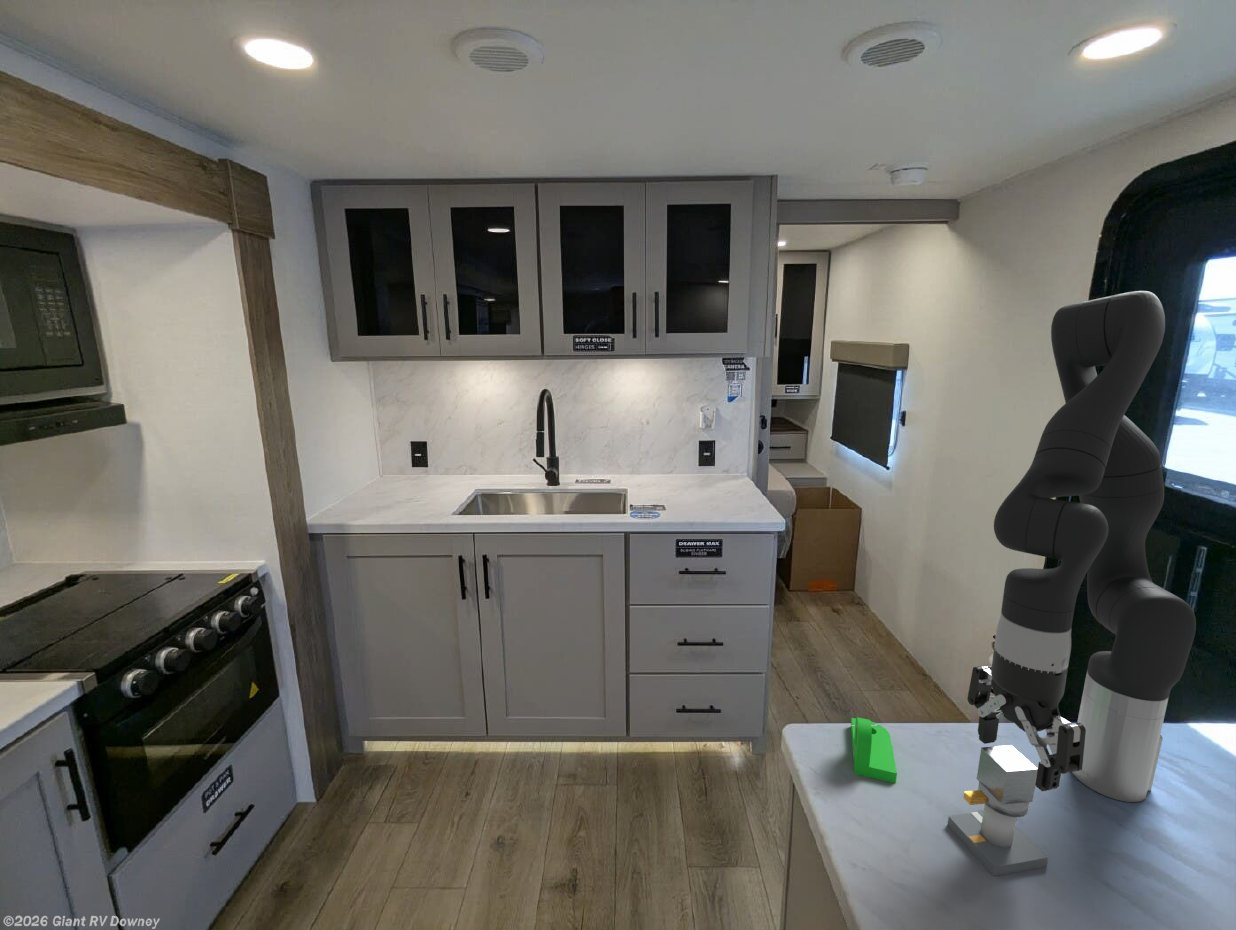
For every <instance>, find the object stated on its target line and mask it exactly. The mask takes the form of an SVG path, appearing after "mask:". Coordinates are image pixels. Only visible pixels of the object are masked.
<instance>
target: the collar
mask: <svg viewBox="0 0 1236 930" xmlns="http://www.w3.org/2000/svg"><path fill="white" fill-rule="evenodd" d="M1037 771H1038V766H1036V765H1034V763H1032V762H1031V761H1030V760H1029V759H1028V758H1026V757H1025V756H1024V755H1023V754H1022V753H1021V752H1020V751H1018V750H1017V749H1016V748H1015V747H1014V746H1013V745H1012V744H1009V745H997V746H983V747H982V746H981V749H980V755H979V761H978V768H977V774H976V780H977V781H978V785H977V789H976V790H966V791H964V792H963V797H962V798H963V799H964V800H965V801H966V802H967V804H968V805H969V806H972V805H975V806H976V805H985V804H986V805H987V806H988V807H989V808H991V809H992V810H994V811H996V812H998V813H1000V814H1003V815H1006V816H1009V817H1017V818H1022V817H1025V816H1026V815H1027V814H1028V812H1029V811H1028V810H1029V808H1030V807H1029V806H1030V803H1033V802H1034V797H1035V789H1036V785H1035V784H1036V777H1037Z"/></svg>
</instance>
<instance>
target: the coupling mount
mask: <svg viewBox="0 0 1236 930" xmlns="http://www.w3.org/2000/svg"><path fill="white" fill-rule="evenodd" d="M983 805H984V807H983V810H979V811H973V812H972V811H971V812H966V813H960V814H955V815H949V816H948V819H947V826H948V827H949V828H950V829H951V831H952V832H953V833H954V834H955V835H956V836H957V837H958V838H959V839H960V840H961V842H962V843H963V844H964V845H965V846H966V847H967V848H968V849H969V851H971V853H972V854H973V855H974V856H975V857H976V858H977V859H978V861H979V862H980V863H981V864H982V865H983V866H984V867H985V869H987V870H988V872H989V873H990V874H991V875H992V876H993V877H996V876H1001V875H1007V874H1012V873H1017V872H1024V871H1027V870H1033V869H1039V868H1043V867H1047V864H1048V861H1049V860H1048V859H1049V856H1047V855H1046V854H1045V853H1044V852H1043V851H1042V850H1041V848H1039V847H1038V846H1037V845H1036V844H1035V843H1034V842H1033V841H1032V840H1031V839H1030V838H1029V837H1027V835H1026V834H1024V832H1023V831H1021V830H1020V828H1019V827H1017V826H1016V824H1017V818H1018V817H1009V816H1006V815H1003V814H1000V813H998V812H996V811H994V810H992V809H991V808H989V807H988V806H987V805H986V804H983Z"/></svg>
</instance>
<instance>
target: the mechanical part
mask: <svg viewBox="0 0 1236 930" xmlns="http://www.w3.org/2000/svg"><path fill="white" fill-rule="evenodd" d="M875 724H878V723H877V722H874V721H871V719H867V718H862V717H858V716H857V717H856V718H854V717H851V723H850V732H851V734H850V735H851V745H852V757H853V758H852V759H853V766H854V767H853V769H854V774H856V775H858V776H864V777H868V778H873V779H877V780H880V781H885V782H890V783H894V784H896V783H897V776H898V772H897V767H896V760H895V756H894V755H895V754H894V750H893V744H892V739H891V733H890V732H889V731H888V730H887V729H886V728H885V727H884V726H882V725H881V724H879V725H877V726H871V725H875ZM851 725H855V726H851Z"/></svg>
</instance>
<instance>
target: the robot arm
mask: <svg viewBox="0 0 1236 930" xmlns="http://www.w3.org/2000/svg"><path fill="white" fill-rule="evenodd" d="M1164 310H1165V309H1164V307H1163V304H1162V302H1161V301H1160V299H1159V298H1158V296H1157V295H1156V294H1155V293H1153V292H1151V291H1147V290H1138V291H1137V290H1135V291H1128V292H1124V293H1118V294H1114V295H1109V296H1105V297H1099V298H1096V299H1090V300H1086V301H1080V302H1075V303H1071V304H1067V305H1064V306H1062V307H1060V308H1058V310H1057V311H1056V312H1055V313H1054V315H1053V318H1052V321H1051V325H1050V327H1051V328H1050V334H1051V335H1050V338H1051V339H1050V340H1051V345H1052V352H1053V357H1054V361H1055V367H1056V369H1057V373H1058V378H1059V381H1060V385H1061V389H1062V393H1063V398H1064V402H1065V404H1064V405H1062V406H1061V407H1060V408H1059V409H1058V410H1057V411H1056V412H1055V413H1054V414H1053V415H1052V417H1051V418H1050V419H1049V421H1048V422H1047V424H1046V425H1045V427H1044V428H1043V432H1042V433H1041V437H1040V439H1039V442H1038V444H1037V448H1036V451H1035V454H1034V457H1033V460H1032V463H1031V465H1030V467H1029V468H1028V470H1027V471H1026V473H1025V474H1024V475H1023V477H1022V479H1020V481H1019V482H1018V484H1016V486H1015V487H1014V488H1013V489H1012V490H1011V491H1010V492H1009V494H1008V495H1007V496H1006V498H1005V499H1004V500H1003V502H1002V503H1001V505H1000V506H998V507H999V508H998V509H997V511H996V513H995V515H994V519H993V532H994V535H995V538H996V539H997V541H998V543H1000V544H1001V545H1002V546H1003V547H1005V548H1007V549H1009V550H1012V551H1015V552H1020V553H1025V554H1030V555H1034V556H1039V557H1043V558H1044V557H1046V558H1050V559H1054V560H1057V561H1060V564H1059V566H1057V567H1053V568H1035V567H1034V568H1033V567H1032V568H1031V567H1029V568H1027V567H1025V568H1018V569H1013V570H1011V571H1010V572H1008V573H1007V575H1006V577H1005V581H1004V588H1003V596H1002V605H1001V611H1000V615H999V619H998V622H997V626H996V631H995V638H994V647H993V654H992V661H991V664H985V665H979V666H974V667H973V668H972V671H971V677H970V681H969V682H970V683H969V687H968V692H967V693H968V694H967V702H968V703H969V705H971V706H974V707H975V709H977V711H976V712H977V715H978V726H977V733H978V735H979V736H978V740H979V741H980V742H981V743H983V744H985V745H987V744H991V743H995V742H996V741H997V739H998V738H997V737H998V732H999V723H1000V718H999V717H998V716H999V715H1000V714H1003V717H1004V718H1005V719H1006V720H1008V721H1009V722H1012V723H1014V724H1015V725H1016V726H1017V728H1019V729H1020V730H1022V731H1023V732H1025V734H1026V736H1027V739H1028V742H1029V744H1031V745H1032V746H1033V747H1035V750H1036V752H1037V755H1038V757H1039V760H1040V761H1039V762H1038V766H1037V768H1038V771H1037V777H1036V784H1035V788H1037V789H1039V791H1041V792H1047V791H1052V790H1056V789H1058V787H1060V781H1061V775H1065V774H1068V773H1072V774H1073V776H1074V777H1075V778H1076V779H1077V780H1078V781H1080V783H1082V784H1083V785H1085V786H1086V787H1088V788H1089V789H1091V790H1093V791H1094V792H1096V793H1099V794H1101V795H1103V796H1105V797H1108V798H1110V799H1113V800H1117V801H1119V802H1125V803H1127V802H1128V803H1138V802H1139V803H1140V802H1142V801H1144V800H1145V799H1146V797H1147V794H1148V791H1152V788H1153V784H1154V778H1155V775H1156V771H1157V765H1158V761H1159V757H1160V753H1161V748H1162V744H1163V736H1162V729H1163V724H1164V719H1165V716H1166V711H1167V706H1168V701H1169V697H1170V693H1171V690H1172V688H1173V687H1174V686H1175V685H1176V684H1177V683H1178V682H1179V681H1180V679H1181V678H1182V677H1183V675H1184V671H1185V669H1186V664H1187V662H1188V659H1189V656H1190V653H1191V649H1192V646H1193V643H1194V639H1195V637H1196V630H1197V629H1196V627H1197V620H1196V615H1195V612H1194V610H1193V608H1192V607H1191V606H1190V605H1189V603H1188V602H1186V601H1185V600H1184V599H1182V598H1181V597H1179V596H1177V595H1175V594H1173V593H1171V592H1170V591H1168V590H1167V589H1164V588H1163V587H1161V586H1159V585H1157V584H1156V583H1154V582H1153V580H1152V578H1151V576H1150V575H1151V574H1150V571H1149V568H1148V567H1149V566H1148V562H1147V554H1146V539H1147V535H1148V533H1149V531H1150V529H1151V528H1152V526H1153V524H1154V523H1155V521H1156V519H1157V518H1158V515H1159V514H1160V511H1161V510H1162V507H1163V505H1164V500H1165V485H1164V484H1165V483H1164V476H1163V467H1162V459H1161V455H1160V451H1159V449H1158V448H1157V446H1156V445H1155V444H1154V441H1152V440H1151V438H1150V437H1148V436H1147V435H1146V434H1145V433H1144V432H1143V431H1142V430H1141V429H1140V428H1139V427H1138V426H1137V425H1136V424H1135V423H1134V422H1133V421H1132V420H1131V419H1129V417H1127V416H1126V415H1125V414H1126V412H1127V410H1128V408H1129V407H1130V405H1131V403H1132V402H1133V399H1135V396H1136V394H1138V393H1137V392H1138V391H1139V390H1140V388H1141V385H1142V384H1143V383H1144V380H1145V378H1146V376H1147V374H1148V373H1149V371H1150V369H1151V366H1152V365H1153V364H1154V361H1155V359H1156V357H1157V356H1158V352H1159V351H1160V348H1161V346H1162V344H1163V339H1164V335H1165V332H1166V315H1165V311H1164ZM1101 366H1102V367H1103V366H1104V368H1103V369H1102V370H1101V371H1100V372H1099V373H1097V370H1096V367H1101ZM1077 496H1078V498H1079V502H1075V501H1067V500H1062V499H1055V498H1061V497H1063V498H1064V497H1077ZM1086 575H1087V577H1086ZM1085 577H1086V580H1087V581H1086V582H1087V584H1086V587H1087V588H1086V589H1087V590H1086V591H1087V593H1086V594H1087V595H1086V596H1087V603H1088V607H1089V609H1090V612H1091V615H1092V617H1094V619H1096V621H1097V622H1098V623H1099V624H1100V625H1101V626H1103V627H1104V628H1105V629H1106V630H1108V631H1109V632H1111V633H1112V634H1114V635H1115V638H1114V642H1113V646H1112V647H1111V648H1112V649H1111V651H1110V650H1109V651H1108V650H1107V651H1106V650H1105V651H1103V650H1102V651H1096V652H1094V653H1093V654H1092V655H1090V658H1089V660H1088V665H1087V669H1086V675H1085V680H1084V685H1083V691H1082V696H1081V702H1080V706H1079V712H1078V718H1077V722H1074V723H1073V722H1071V721H1069V720H1067V719H1066V718H1064V717H1062V716H1061V713H1060V709H1059V703H1060V702H1061V700H1062V698H1063V697H1064V694H1065V690H1066V683H1067V677H1068V670H1069V663H1070V658H1071V652H1072V626H1073V619H1074V615H1075V608H1076V603H1077V598H1078V594H1079V592H1080V588H1081V585H1082V583H1083V581H1084V579H1085ZM992 691H993V693H994V696H995V697H994V698H992V699H990V698H991V697H990V696H991V693H992ZM1044 730H1045V732H1046V735H1045V736H1040V735H1039V733H1038V732H1042V731H1044ZM1047 746H1048V747H1049V749H1050V752H1051V754H1050V752H1049V749H1048V748H1047Z"/></svg>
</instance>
